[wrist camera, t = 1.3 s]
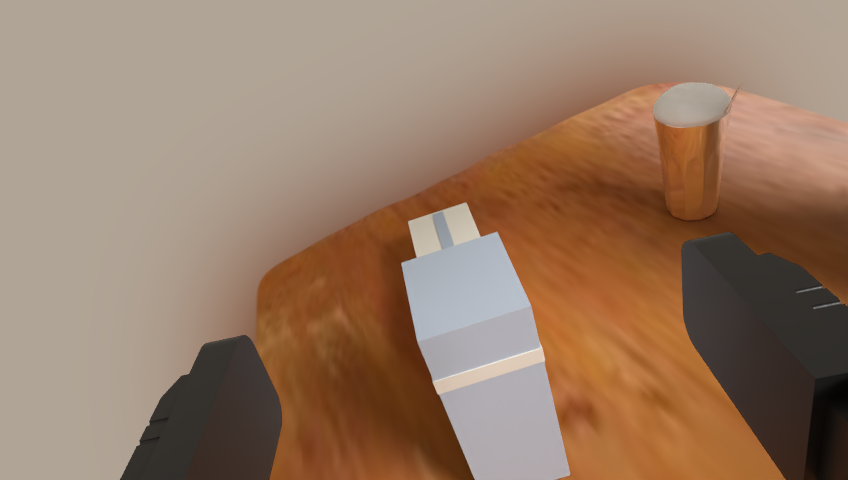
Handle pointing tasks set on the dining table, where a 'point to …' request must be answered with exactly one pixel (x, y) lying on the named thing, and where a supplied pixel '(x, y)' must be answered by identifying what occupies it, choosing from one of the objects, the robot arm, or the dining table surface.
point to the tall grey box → (486, 360)
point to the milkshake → (692, 146)
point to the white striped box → (442, 229)
